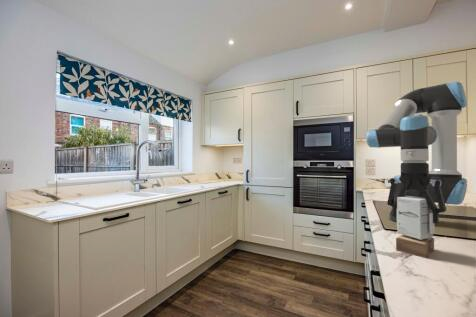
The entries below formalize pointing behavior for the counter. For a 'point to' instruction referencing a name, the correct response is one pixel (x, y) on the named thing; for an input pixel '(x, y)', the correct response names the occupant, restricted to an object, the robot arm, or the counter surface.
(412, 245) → the brown wooden block
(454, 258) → the counter surface
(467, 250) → the counter surface
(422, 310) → the counter surface
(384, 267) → the counter surface
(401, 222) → the supplement box
